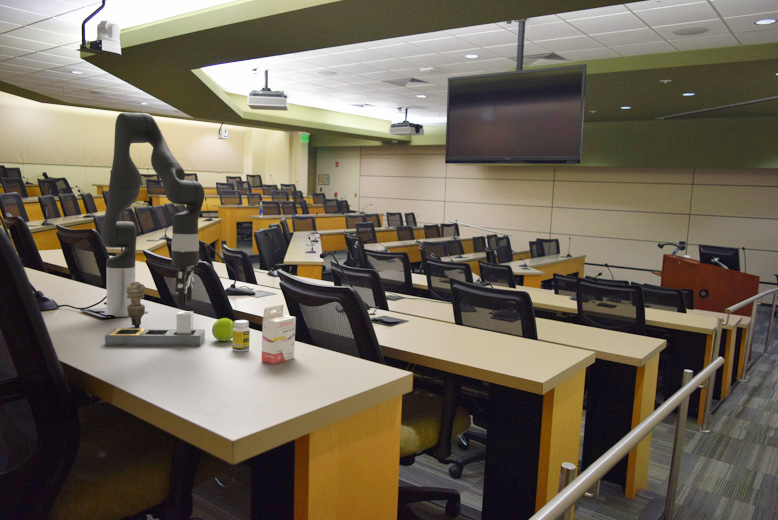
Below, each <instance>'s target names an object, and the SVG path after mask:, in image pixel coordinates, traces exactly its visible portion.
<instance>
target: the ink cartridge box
mask: <svg viewBox="0 0 778 520" xmlns="http://www.w3.org/2000/svg"><path fill="white" fill-rule="evenodd" d="M284 307H285V306H284V304H280V305H279V304H278V305H273V306H268V307H264V310H263V317H262V329H261V330H262V332H261V334H262V335H261V337H262V338H261V362H264V363H268V364H272V365H277V364H280V363H283V362H286V361H289V360H291V359H294V358H295V347H296V346H295V343H296V342H295V340H296V324H297V323H296V321H297V317H296V316H291V315H286V314H283V313H284ZM274 310H275V311H274ZM272 311H274V312H272Z"/></svg>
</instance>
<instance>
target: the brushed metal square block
mask: <svg viewBox="0 0 778 520" xmlns="http://www.w3.org/2000/svg"><path fill="white" fill-rule="evenodd" d="M176 329H177V335H193V329H194V311H187V310H186V311H178V312H177V313H176Z"/></svg>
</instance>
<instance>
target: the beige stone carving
mask: <svg viewBox="0 0 778 520" xmlns="http://www.w3.org/2000/svg"><path fill="white" fill-rule="evenodd" d="M126 289H127V291H126V293H127V294H128V295H127V298H130V299H131V304H130V305H128V306H127V312H128V315H129V316H128V317H129V318H130V319H131V326H133V327H135V328H140V326H141V324H142V322H141V321H142V318H143V316H144V315H145V313H146V312H145V311H146V310H145V309H146V306H145V305H144V304H142V303H141V302H142V301H141V300H143V299H144V298H145V289H146V287H145V285H144V284H143V283H141V282H138V281H135V282H132V283H130V286H127V287H126Z"/></svg>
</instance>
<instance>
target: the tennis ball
mask: <svg viewBox="0 0 778 520" xmlns="http://www.w3.org/2000/svg"><path fill="white" fill-rule="evenodd" d="M234 327H235V326H234V321H233V320H232V319H229V318H227V317H223V318H219V319H218V320H216V321H215V322H214V323H213V325H212V328H211V332H212V335H213V337H214V338H215V339H216V340H217V341H220V342H228V341H230V340H231V339H232V340H233V328H234Z"/></svg>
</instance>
